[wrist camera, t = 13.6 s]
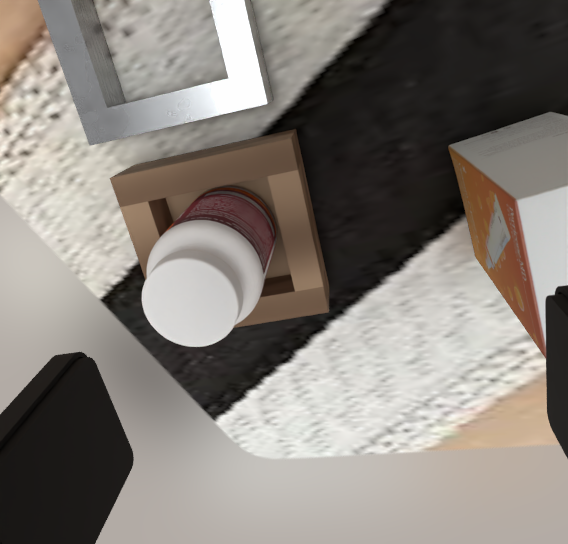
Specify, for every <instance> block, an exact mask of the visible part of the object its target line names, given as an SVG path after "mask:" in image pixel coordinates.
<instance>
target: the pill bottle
mask: <svg viewBox="0 0 568 544" xmlns="http://www.w3.org/2000/svg"><path fill="white" fill-rule="evenodd" d="M276 238H277V230H276V224H275V221H274V218H273V215H272V213H271V211H270V210H269V208H268V207H267V205H266V204H265V203H264V202H263V201H262V200H261V199H260V198H259V197H258V196H256V195H255V194H253V193H252V192H250V191H248V190H245V189H242V188H238V187H233V186H223V187H217V188H213V189H210V190H208V191H206V192H204V193H203V194H201V195H200V196H199V197H198V198H196V199H195V200H194V201H193V202H192V203H191V205H190V206H189V207H188V208H187V209H186V210H185V211H184V212H183V213H182V214H181V215H180V217H179V218H178V219H177V220H176V221H175V222H174V223H173V224H172V225H171V226H170V227H169V228H168V229H167V231H166V232H165V233H164V234H163V235H162V236H161V237H160V238H159V240H158V241H157V242H156V244H155V245H154V247H153V249H152V250H151V252H150V255H149V258H148V263H147V279H146V281H145V283H144V286H143V290H142V305H143V309H144V313H145V315H146V317H147V319H148V321H149V322H150V324H151V325H152V326H153V327H154V329H155V330H156V331H157V332H158V333H160V334H161V335H162V336H164V337H165V338H167V339H168V340H170V341H172V342H174V343H177V344H180V345H184V346H189V347H201V346H207V345H211V344H214V343H216V342H218V341H220V340H221V339H223V338H224V337H225V336H226V335H228V334H229V333H230V331H231V330H232V329H233V327H234V325H236V324H238V323H239V322H241V321H242V320H244V319H245V318H246V317H247V316H248V315H249V314H250V313H251V312H252V310H253V309H254V308H255V306H256V304H257V302H258V300H259V298H260V295H261V292H262V289H263V286H264V282H265V279H266V276H267V272H268V269H269V266H270V262H271V259H272V256H273V252H274V249H275V246H276Z"/></svg>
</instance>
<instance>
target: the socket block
mask: <svg viewBox="0 0 568 544" xmlns="http://www.w3.org/2000/svg"><path fill="white" fill-rule="evenodd" d="M209 1H210V5H211V9H212V13H213V17H214V21H215V25H216V29H217V33H218V37H219V41H220V45H221V49H222V53H223V57H224V61H225V65H226V69H227V73H228V77H229V78H227V79H223V80H219V81H215V82H211V83H207V84H203V85H199V86H195V87H191V88H187V89H183V90H178V91H174V92H170V93H166V94H162V95H158V96H154V97H150V98H146V99H142V100H138V101H134V102H130V103H126V102H125V99H124V96H123V93H122V90H121V87H120V84H119V81H118V77H117V74H116V71H115V68H114V65H113V62H112V59H111V56H110V53H109V50H108V47H107V43H106V40H105V37H104V34H103V31H102V28H101V25H100V22H99V19H98V16H97V13H96V9H95V6H94V3H93V0H38V2H39V5H40V8H41V11H42V14H43V16H44V19H45V22H46V25H47V28H48V30H49V33H50V36H51V39H52V42H53V44H54V47H55V50H56V53H57V55H58V58H59V61H60V64H61V67H62V69H63V72H64V75H65V78H66V81H67V83H68V86H69V89H70V92H71V95H72V97H73V100H74V103H75V106H76V108H77V111H78V114H79V117H80V120H81V122H82V125H83V128H84V131H85V134H86V136H87V139H88V142H89V145H94V144H99V143H103V142H107V141H111V140H116V139H120V138H124V137H128V136H133V135H137V134H141V133H146V132H150V131H154V130H158V129H163V128H167V127H171V126H176V125H180V124H184V123H188V122H193V121H197V120H201V119H205V118H210V117H214V116H218V115H223V114H227V113H231V112H235V111H240V110H244V109H248V108H252V107H257V106H261V105H265V104H268V103H270V102H271V101H272V100H273V97H272V93H271V88H270V84H269V79H268V75H267V70H266V66H265V61H264V57H263V52H262V48H261V43H260V39H259V34H258V30H257V25H256V21H255V16H254V12H253V7H252V3H251V0H209Z"/></svg>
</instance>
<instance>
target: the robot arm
mask: <svg viewBox="0 0 568 544" xmlns="http://www.w3.org/2000/svg"><path fill="white" fill-rule="evenodd" d="M545 318H546V376H547V414H548V419H549V423H550V426H551V428H552V430H553V432H554V434H555V436H556V438H557V440H558V442H559V443H560V445H561V447H562V449H563V451H564V453H565V455H566V456H567V458H568V285H565V286H558V287H557V288H556V291H555V295H548V296H547V297H546V300H545ZM132 466H133V451H132V449H131V446H130V444H129V441H128V439H127V437H126V434H125V432H124V429H123V427H122V425H121V422H120V420H119V417H118V415H117V413H116V410H115V408H114V406H113V403H112V401H111V399H110V396H109V394H108V391H107V389H106V386H105V384H104V382H103V379H102V377H101V375H100V372H99V370H98V368H97V365H96V363H95V361H94V360H93V359H92V358H90V357H87V356H86V355H85V354H84V353H82V352H76V353H69V354H62V355H55V356H54V357H53V358H51V360H50V361H49V362H48V363H47V364H46V365H45V366H44V367H43V368H42V370H41V371H40V372H39V373H38V374H37V375H36V376H35V377H34V378H33V379H32V381H30V383H29V384H28V385H27V386H26V387H25V388H24V389H23V390H22V391H21V393H20V394H19V395H18V396H17V397H16V398H15V399H14V400H13V401H12V402H11V403H10V405H9V406H8V407H7V408H6V409H5V410H4V411H3V412H2V413H1V414H0V544H95V543H96V540H97V538H98V536H99V534H100V532H101V530H102V528H103V526H104V524H105V522H106V520H107V518H108V516H109V514H110V512H111V510H112V508H113V506H114V504H115V502H116V500H117V497H118V495H119V493H120V491H121V489H122V487H123V485H124V483H125V481H126V479H127V477H128V475H129V473H130V471H131V469H132Z"/></svg>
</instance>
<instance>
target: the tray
mask: <svg viewBox="0 0 568 544" xmlns="http://www.w3.org/2000/svg"><path fill="white" fill-rule="evenodd" d="M110 180H111V183H112V186H113V188H114V191H115V194H116V197H117V200H118V203H119V205H120V208H121V211H122V214H123V217H124V220H125V223H126V225H127V228H128V231H129V234H130V237H131V240H132V242H133V245H134V248H135V251H136V254H137V257H138V259H139V262H140V265H141V268H142V271H143V274H144V276H145V279H147V263H148V258H149V255H150V252H151V250H152V249H153V247H154V245H155V244H156V242H157V241H158V240H159V238H160V237H161V236H162V235H163V234H164V233H165V232H166V231H167V229H168V228H169V227H170V226H171V225H172V224H173V223H174V222H175V221H176V220H177V219H178V218H179V217H180V215H181V214H182V213H183V212H184V211H185V210H186V209H187V208H188V207H189V206H190V205H191V203H192V202H193V201H194V200H195V199H196V198H198V197H199V196H200V195H201V194H203V193H204V192H206V191H208V190H210V189H213V188H217V187H223V186H233V187H238V188H242V189H245V190H248V191H250V192H252V193H253V194H255V195H256V196H258V197H259V198H260V199H261V200H262V201H263V202H264V203H265V204H266V205H267V207H268V208H269V210H270V211H271V213H272V215H273V218H274V221H275V224H276V230H277V238H276V246H275V249H274V252H273V256H272V259H271V262H270V266H269V269H268V272H267V276H266V279H265V282H264V286H263V289H262V292H261V295H260V298H259V300H258V302H257V304H256V306H255V308H254V309H253V310H252V312H251V313H250V314H249V315H248V316H247V317H246V318H245V319H244V320H242V321H241V322H239V323H238V324H236V325H234V327H241V326H247V325H253V324H259V323H265V322H271V321H278V320H284V319H290V318H296V317H302V316H308V315H314V314H321V313H327V312H329V283H328V278H327V274H326V269H325V264H324V260H323V255H322V250H321V245H320V241H319V236H318V231H317V227H316V222H315V217H314V212H313V208H312V203H311V198H310V194H309V189H308V184H307V179H306V175H305V170H304V165H303V160H302V156H301V151H300V146H299V142H298V137H297V132H296V129H294V130H289V131H285V132H280V133H276V134H271V135H267V136H262V137H258V138H253V139H249V140H244V141H240V142H236V143H231V144H227V145H222V146H218V147H213V148H209V149H204V150H200V151H195V152H191V153H186V154H182V155H177V156H173V157H168V158H164V159H160V160H155V161H151V162H146V163H142V164H137V165H133V166H132V167H130V168H128V169H126V170H124V171H122V172H121V173H119V174H117V175H115V176H113V177H111V178H110ZM234 327H233V328H234ZM166 339H167V338H166Z"/></svg>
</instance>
